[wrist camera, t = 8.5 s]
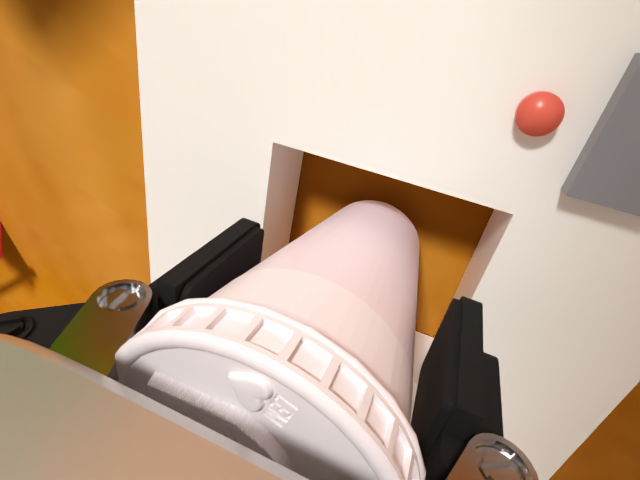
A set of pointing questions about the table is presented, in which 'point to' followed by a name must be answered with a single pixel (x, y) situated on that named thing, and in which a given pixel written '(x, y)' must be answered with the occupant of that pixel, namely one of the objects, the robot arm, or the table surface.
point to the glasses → (0, 242)
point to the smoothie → (301, 351)
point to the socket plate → (427, 161)
